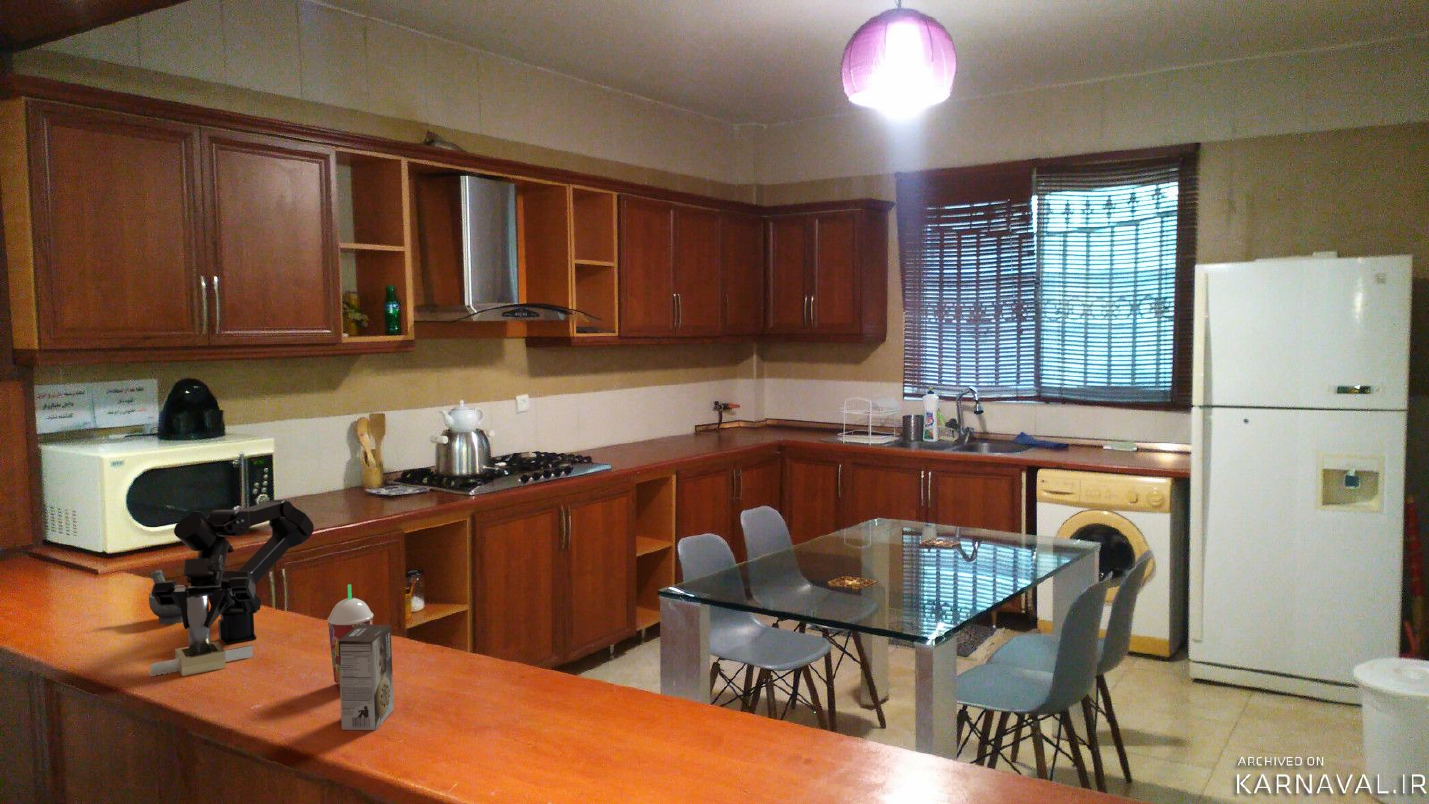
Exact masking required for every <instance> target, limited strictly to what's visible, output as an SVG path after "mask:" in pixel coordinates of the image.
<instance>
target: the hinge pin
mask: <svg viewBox="0 0 1429 804" xmlns="http://www.w3.org/2000/svg"><path fill="white" fill-rule="evenodd" d="M186 602H187V621H188V628H187V634H188V635H187V637H188V639H187V640H188V647H189V657H190V656H195V655H200V654H206V653H211V641H212V640H211V627H210V628H207V626H206V623H207V618H208V614H209V611H210V605H209V604H210V602H209V598H208V594H205V593H199V594H193V595H189V596H187V597H186Z"/></svg>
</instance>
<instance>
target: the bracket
mask: <svg viewBox="0 0 1429 804" xmlns="http://www.w3.org/2000/svg"><path fill="white" fill-rule="evenodd" d="M253 646H254V645H253V644H250V645H243V646H239V647H233V648H229V649H224V647H222V646H221V644H220V642H219V641H213V642H211V653H206V654H200V655H195V656H190V657H189V646H186V647H178V648H174V655H175V658H174V659H170V660H169V659H168V660H164V661H158V662H154V663H152V662H151V663H149V667H150V668H149V670H150V677H151V676H153V677H156V675H158V676H162V675H161V674H163V675H168V674H173V673H176V672H177V671H178V672H179V674H180V675H181V677H187V676H191V675H197V674H202V673H206V672H208V673H209V672H212V670H213V671H217V670H222V669H226V668H227V666H226V663H229V662H235V661H240V660H244V659H245V660H246V659H250V658H253V657H254V647H253ZM172 672H173V673H172ZM167 673H168V674H167Z"/></svg>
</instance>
